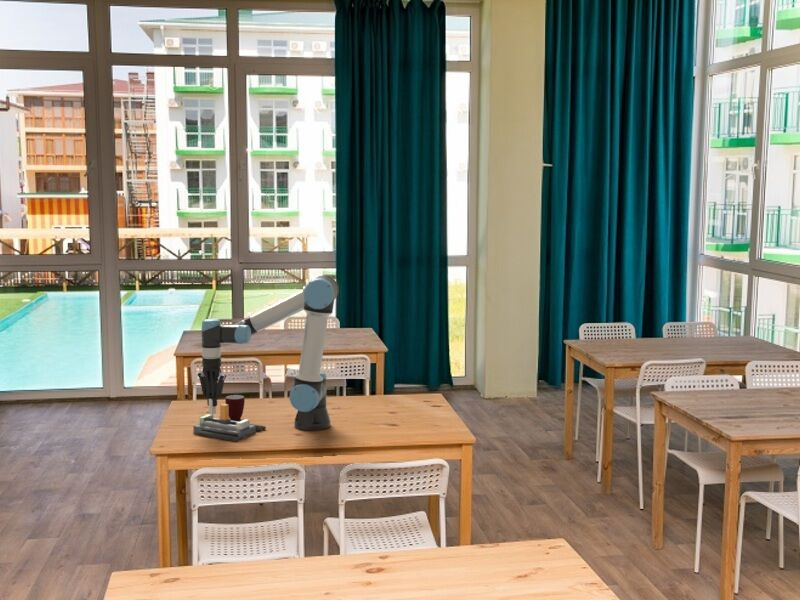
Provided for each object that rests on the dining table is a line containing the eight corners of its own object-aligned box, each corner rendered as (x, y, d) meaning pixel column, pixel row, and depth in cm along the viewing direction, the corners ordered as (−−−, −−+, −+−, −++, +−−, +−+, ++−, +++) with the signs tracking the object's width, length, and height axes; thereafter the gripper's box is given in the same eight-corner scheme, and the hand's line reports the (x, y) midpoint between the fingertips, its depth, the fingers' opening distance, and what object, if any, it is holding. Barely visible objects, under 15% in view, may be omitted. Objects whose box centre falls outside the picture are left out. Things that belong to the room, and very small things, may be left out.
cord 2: (266, 429, 363) (266, 425, 363) (264, 430, 362) (264, 426, 362) (216, 423, 372) (216, 419, 372) (214, 423, 371) (214, 420, 371)
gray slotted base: (255, 432, 358) (255, 418, 357) (238, 440, 347) (238, 425, 347) (211, 426, 367) (211, 412, 367) (193, 433, 357) (193, 418, 356)
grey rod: (262, 431, 361) (262, 426, 361) (260, 432, 359) (260, 427, 359) (215, 423, 371) (215, 419, 371) (212, 424, 369) (212, 420, 369)
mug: (226, 424, 371) (226, 401, 370) (217, 420, 377) (216, 397, 376) (248, 420, 378) (248, 397, 376) (238, 416, 384) (238, 394, 382)
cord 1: (239, 441, 346) (239, 436, 346) (236, 442, 345) (236, 437, 344) (199, 434, 355) (199, 429, 355) (196, 435, 354) (196, 430, 353)
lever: (230, 424, 357) (230, 404, 356) (226, 426, 355) (226, 406, 354) (222, 423, 359) (222, 403, 358) (218, 425, 356) (217, 405, 355)
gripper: (230, 357, 357) (231, 413, 360) (204, 354, 362) (205, 409, 365) (219, 360, 350) (219, 417, 353) (192, 357, 355) (193, 413, 358)
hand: (212, 413), depth 359 cm, fingers closed
